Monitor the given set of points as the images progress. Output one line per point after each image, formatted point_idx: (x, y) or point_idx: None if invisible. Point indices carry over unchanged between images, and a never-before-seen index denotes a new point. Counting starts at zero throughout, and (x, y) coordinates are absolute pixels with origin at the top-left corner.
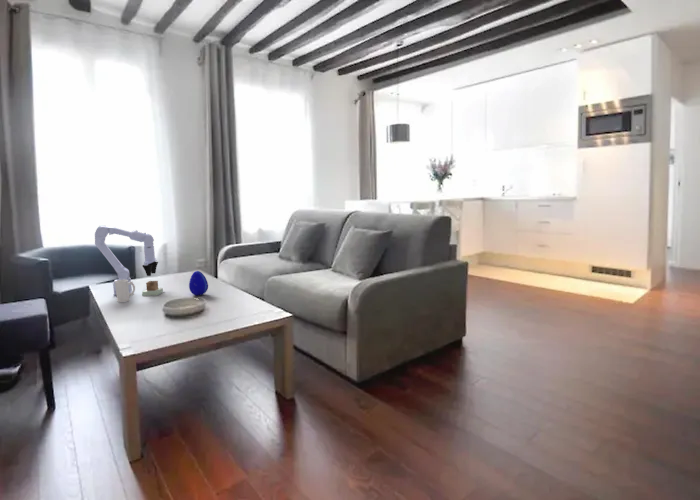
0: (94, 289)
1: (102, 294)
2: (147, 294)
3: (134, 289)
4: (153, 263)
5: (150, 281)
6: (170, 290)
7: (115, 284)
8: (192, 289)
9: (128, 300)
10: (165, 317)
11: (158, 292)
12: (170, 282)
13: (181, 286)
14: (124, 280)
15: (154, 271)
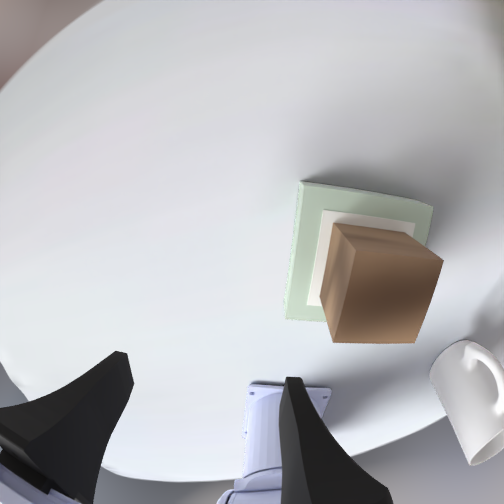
0: (179, 481)
1: None
2: None
3: (491, 353)
4: (61, 471)
5: (366, 323)
6: (257, 124)
7: (494, 440)
8: None
9: (467, 340)
10: None
11: (407, 200)
12: (13, 218)
13: (119, 78)
14: (478, 445)
15: (116, 374)
